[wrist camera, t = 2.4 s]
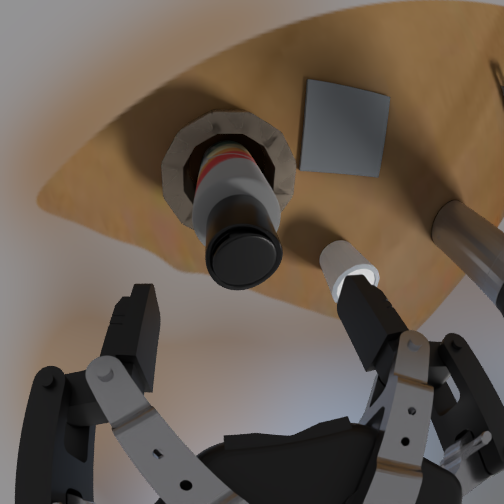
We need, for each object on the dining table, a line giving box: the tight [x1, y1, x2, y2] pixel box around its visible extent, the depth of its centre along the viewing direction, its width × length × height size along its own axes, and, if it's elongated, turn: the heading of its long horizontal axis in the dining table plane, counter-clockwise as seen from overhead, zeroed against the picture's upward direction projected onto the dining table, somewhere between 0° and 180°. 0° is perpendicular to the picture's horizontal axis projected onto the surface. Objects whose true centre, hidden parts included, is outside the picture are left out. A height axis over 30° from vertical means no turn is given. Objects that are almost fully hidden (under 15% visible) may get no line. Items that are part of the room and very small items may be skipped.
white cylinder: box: [319, 240, 379, 303], centre depth 36 cm, size 7×7×7 cm
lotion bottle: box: [192, 140, 283, 290], centre depth 21 cm, size 6×6×20 cm
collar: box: [161, 110, 296, 230], centre depth 27 cm, size 12×12×6 cm
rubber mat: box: [299, 79, 390, 177], centre depth 29 cm, size 11×11×1 cm
